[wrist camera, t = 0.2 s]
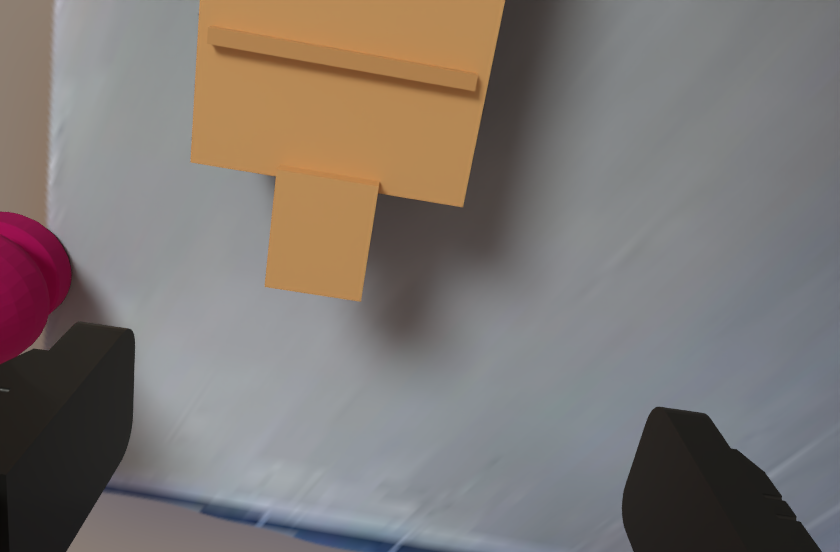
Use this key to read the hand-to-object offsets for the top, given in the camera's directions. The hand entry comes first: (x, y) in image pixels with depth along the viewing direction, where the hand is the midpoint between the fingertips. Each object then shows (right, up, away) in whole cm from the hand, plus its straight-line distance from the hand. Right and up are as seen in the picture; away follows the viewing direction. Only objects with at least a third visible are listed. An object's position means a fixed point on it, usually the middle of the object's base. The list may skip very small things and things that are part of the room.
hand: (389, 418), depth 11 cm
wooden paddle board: (-2, +12, +18) cm, 21 cm away
